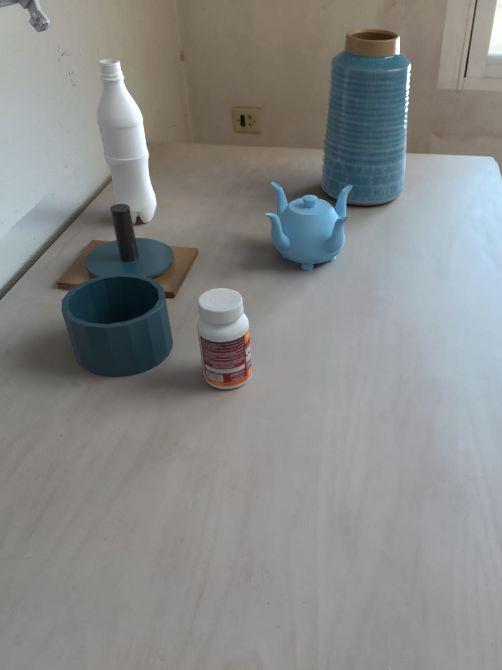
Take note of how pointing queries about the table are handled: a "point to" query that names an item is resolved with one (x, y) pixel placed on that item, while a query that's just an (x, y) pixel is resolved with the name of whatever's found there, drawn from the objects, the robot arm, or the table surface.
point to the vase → (367, 119)
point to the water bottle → (124, 144)
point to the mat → (167, 280)
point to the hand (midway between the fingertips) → (20, 35)
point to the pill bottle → (224, 339)
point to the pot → (118, 324)
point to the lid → (128, 251)
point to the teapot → (308, 228)
